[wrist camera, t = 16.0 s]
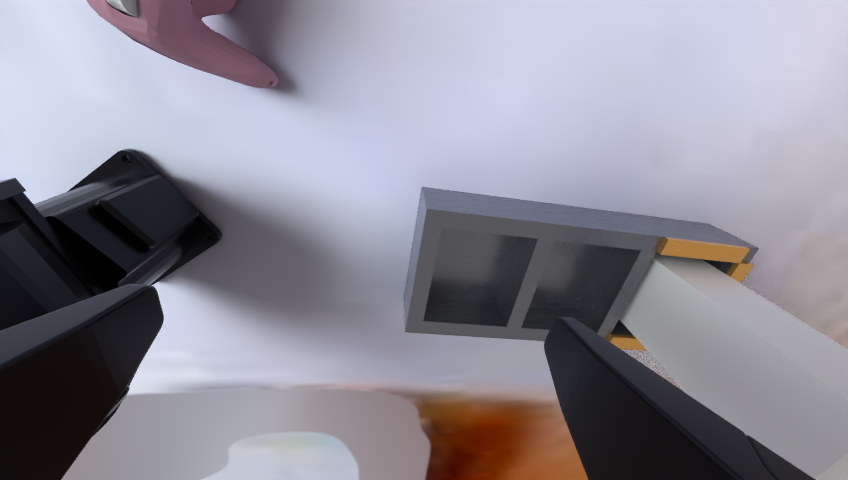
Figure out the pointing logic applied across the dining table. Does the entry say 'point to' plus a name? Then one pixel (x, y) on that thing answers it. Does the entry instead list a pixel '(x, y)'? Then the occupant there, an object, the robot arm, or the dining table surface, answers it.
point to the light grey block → (746, 361)
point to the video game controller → (186, 36)
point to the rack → (542, 265)
